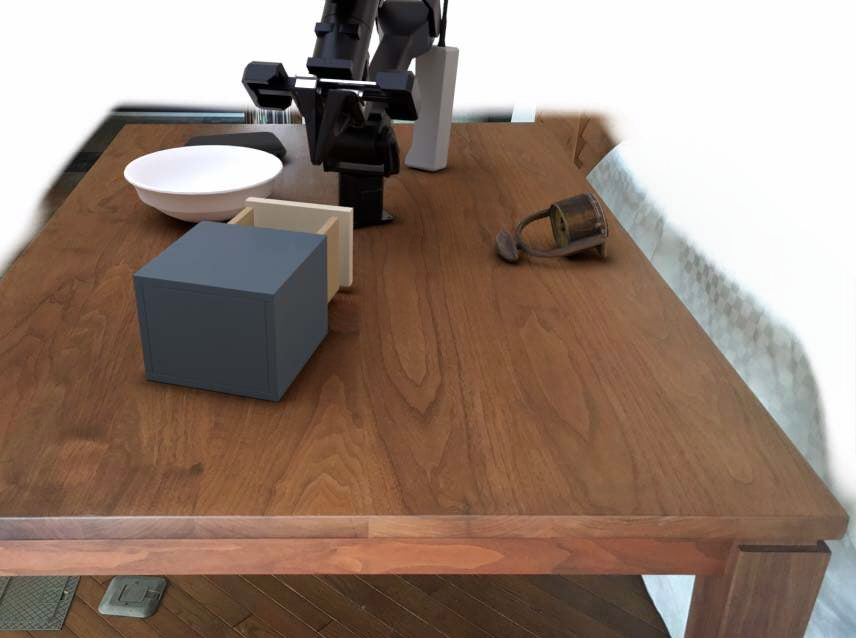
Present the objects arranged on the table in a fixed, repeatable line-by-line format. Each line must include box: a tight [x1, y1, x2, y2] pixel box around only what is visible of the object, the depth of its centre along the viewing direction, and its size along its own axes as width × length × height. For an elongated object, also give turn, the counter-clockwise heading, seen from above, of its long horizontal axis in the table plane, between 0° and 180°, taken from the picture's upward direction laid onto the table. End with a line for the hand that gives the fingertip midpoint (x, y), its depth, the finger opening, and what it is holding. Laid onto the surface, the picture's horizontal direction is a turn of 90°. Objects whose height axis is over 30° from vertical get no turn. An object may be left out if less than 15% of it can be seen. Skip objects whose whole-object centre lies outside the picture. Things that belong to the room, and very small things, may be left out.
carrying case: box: [183, 131, 287, 162], centre depth 136 cm, size 11×3×15 cm
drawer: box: [227, 197, 354, 303], centre depth 92 cm, size 16×11×8 cm
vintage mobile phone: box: [404, 0, 460, 172], centre depth 127 cm, size 4×5×25 cm
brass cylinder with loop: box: [494, 191, 610, 263], centre depth 103 cm, size 7×13×10 cm
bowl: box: [123, 145, 284, 224], centre depth 115 cm, size 20×20×6 cm
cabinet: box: [132, 221, 329, 403], centre depth 81 cm, size 14×13×10 cm
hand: (315, 163), depth 95 cm, fingers closed
